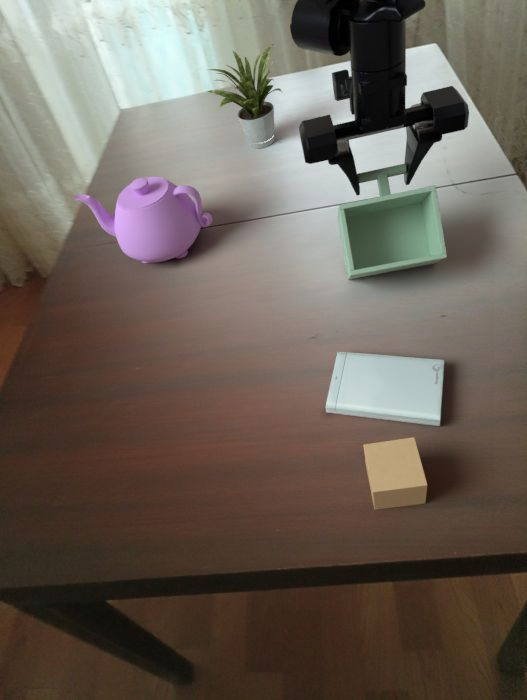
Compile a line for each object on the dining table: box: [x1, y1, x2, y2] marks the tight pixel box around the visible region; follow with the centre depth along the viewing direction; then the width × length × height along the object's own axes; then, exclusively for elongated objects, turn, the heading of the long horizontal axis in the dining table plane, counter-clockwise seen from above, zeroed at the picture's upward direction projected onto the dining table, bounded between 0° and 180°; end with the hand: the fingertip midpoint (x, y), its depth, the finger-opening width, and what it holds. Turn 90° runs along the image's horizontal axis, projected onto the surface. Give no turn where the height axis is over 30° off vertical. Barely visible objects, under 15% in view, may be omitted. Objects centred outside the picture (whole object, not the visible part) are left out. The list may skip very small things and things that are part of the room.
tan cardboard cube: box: [363, 436, 428, 511], centre depth 49 cm, size 5×5×4 cm
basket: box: [336, 163, 448, 280], centre depth 66 cm, size 13×12×7 cm
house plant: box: [206, 43, 283, 150], centre depth 93 cm, size 14×14×16 cm
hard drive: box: [325, 351, 445, 427], centre depth 57 cm, size 2×8×12 cm
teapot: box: [73, 176, 213, 264], centre depth 80 cm, size 20×14×12 cm
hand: (382, 188), depth 65 cm, fingers closed on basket, 6 cm apart
